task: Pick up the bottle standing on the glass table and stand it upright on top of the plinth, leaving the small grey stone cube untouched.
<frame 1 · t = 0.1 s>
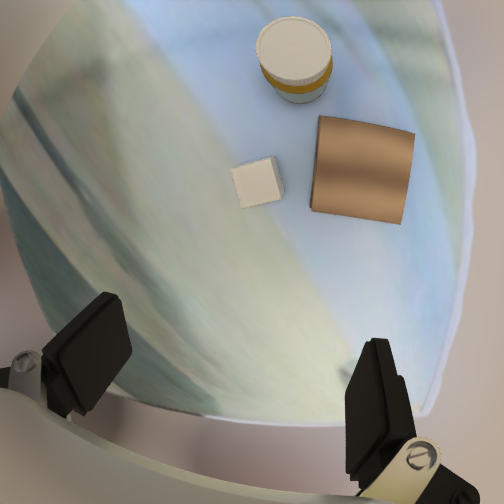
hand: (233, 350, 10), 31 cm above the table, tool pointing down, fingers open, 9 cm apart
stone cube: (262, 177, 38), on the table
plinth: (360, 168, 35), on the table
bottle: (299, 79, 32), on the table
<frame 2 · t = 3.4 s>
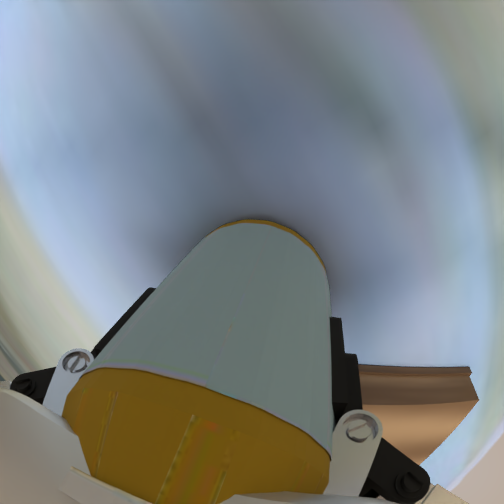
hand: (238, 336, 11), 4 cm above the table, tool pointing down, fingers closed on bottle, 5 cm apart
plinth: (364, 421, 18), on the table
bottle: (258, 280, 15), on the table, touching gripper
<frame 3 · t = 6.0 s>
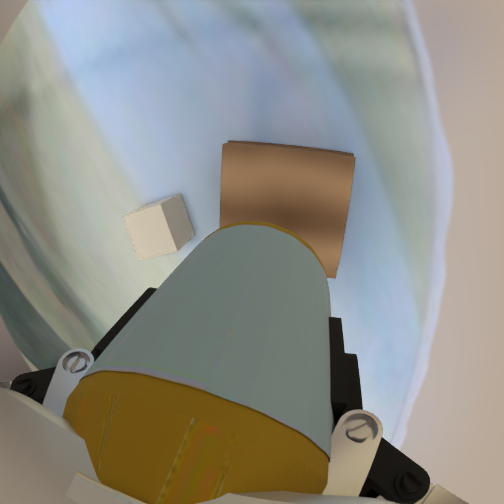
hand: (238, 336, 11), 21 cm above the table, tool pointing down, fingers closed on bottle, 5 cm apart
stone cube: (169, 219, 33), on the table
plinth: (285, 205, 30), on the table
bottle: (258, 281, 15), point 16 cm above the table, touching gripper
when the fingers open (8 cm above the table, at t = 9.0 s): bottle stays where it is, resting on plinth.
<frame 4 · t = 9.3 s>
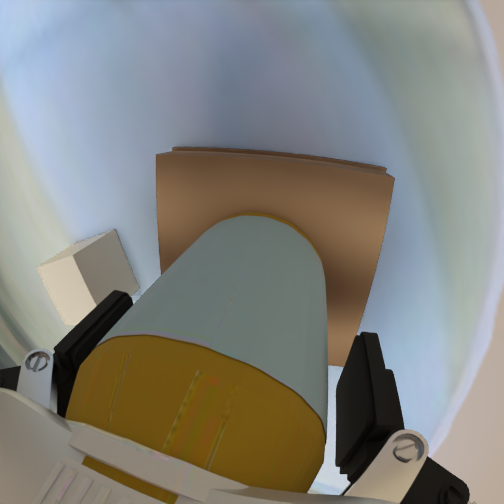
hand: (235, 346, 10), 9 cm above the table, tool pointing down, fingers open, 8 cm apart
stone cube: (106, 264, 22), on the table
plinth: (269, 252, 18), on the table
bottle: (258, 271, 16), point 3 cm above the table, touching plinth
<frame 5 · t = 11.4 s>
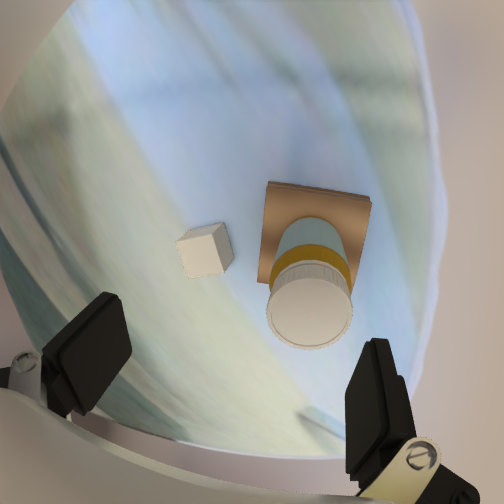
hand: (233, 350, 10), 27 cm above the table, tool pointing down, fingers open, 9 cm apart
stone cube: (212, 243, 39), on the table
plinth: (312, 236, 36), on the table
bottle: (311, 243, 34), point 3 cm above the table, touching plinth
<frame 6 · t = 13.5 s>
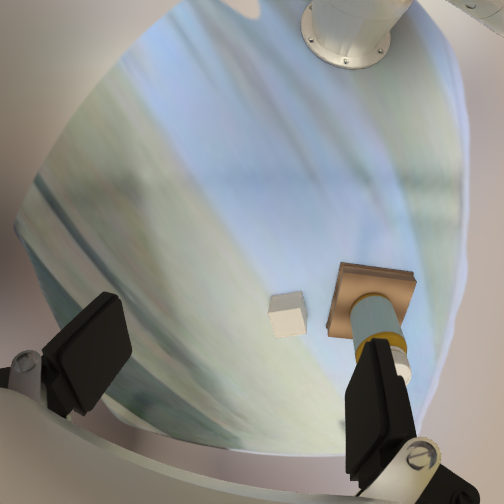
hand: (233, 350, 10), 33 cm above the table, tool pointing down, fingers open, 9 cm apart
stone cube: (290, 305, 48), on the table
plinth: (369, 300, 45), on the table
bottle: (370, 309, 42), point 3 cm above the table, touching plinth
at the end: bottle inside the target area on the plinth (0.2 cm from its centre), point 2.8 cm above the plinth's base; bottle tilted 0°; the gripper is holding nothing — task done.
